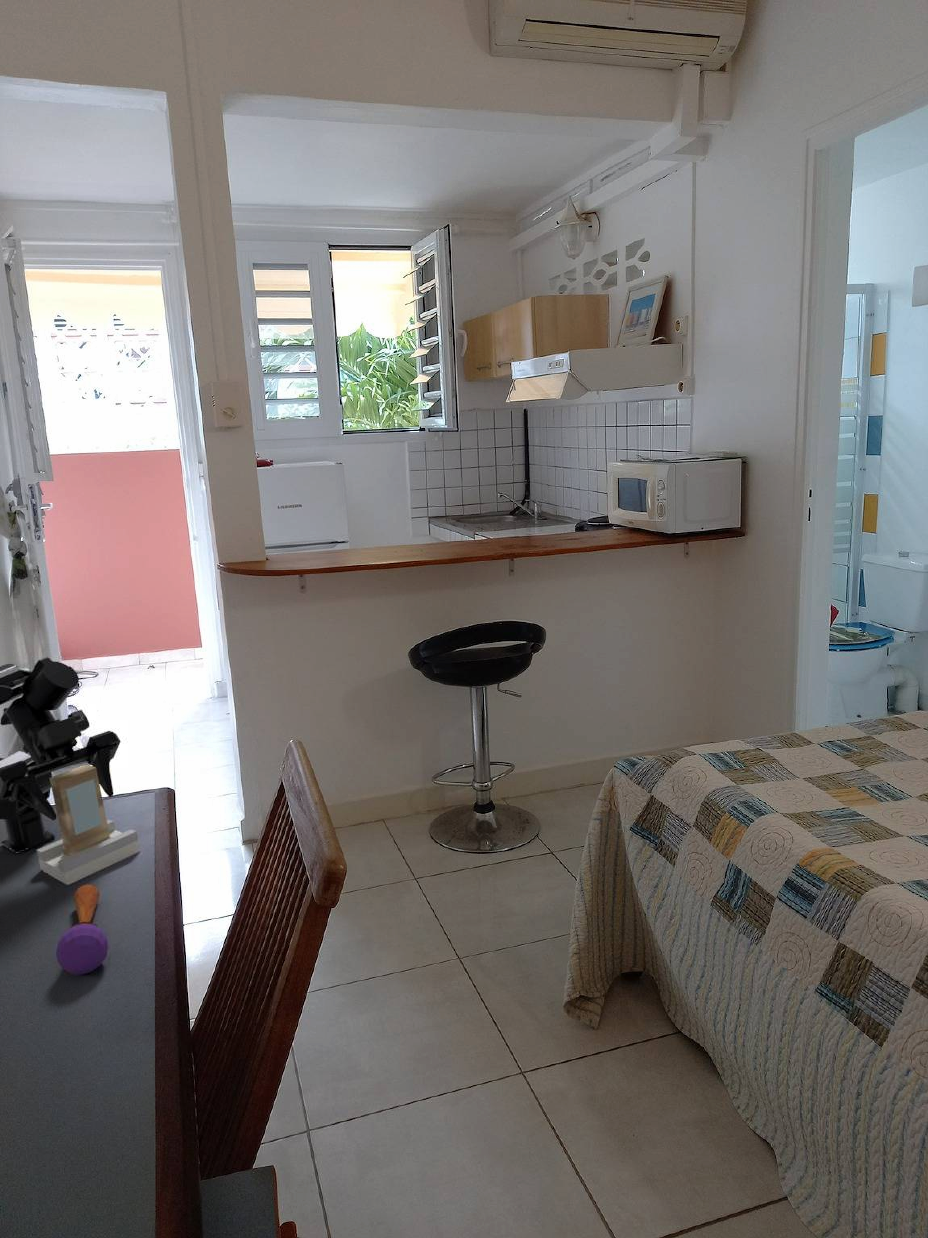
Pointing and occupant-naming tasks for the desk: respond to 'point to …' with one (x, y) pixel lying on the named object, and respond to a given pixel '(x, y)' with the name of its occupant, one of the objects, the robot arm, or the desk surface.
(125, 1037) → the desk surface
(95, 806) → the beige block with panel
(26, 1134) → the desk surface
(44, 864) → the ledge
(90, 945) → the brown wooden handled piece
